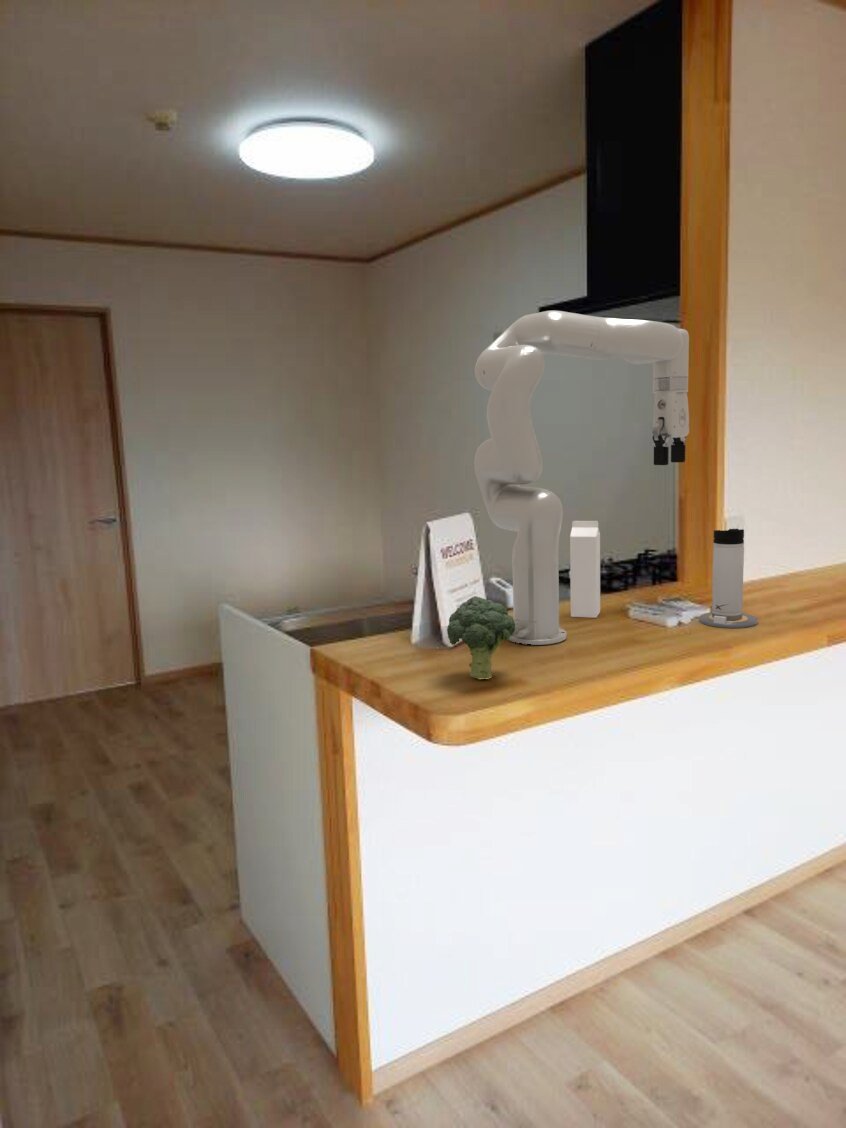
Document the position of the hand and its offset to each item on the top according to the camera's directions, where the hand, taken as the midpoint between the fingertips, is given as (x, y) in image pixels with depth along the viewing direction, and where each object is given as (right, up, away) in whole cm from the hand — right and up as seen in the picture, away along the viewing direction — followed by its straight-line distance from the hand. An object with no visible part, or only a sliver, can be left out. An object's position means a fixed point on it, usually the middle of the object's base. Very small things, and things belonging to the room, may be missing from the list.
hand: (669, 463), depth 190 cm
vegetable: (-45, -44, -39) cm, 74 cm away
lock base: (+11, -35, -6) cm, 38 cm away
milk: (-18, -35, +6) cm, 39 cm away
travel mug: (+11, -35, -6) cm, 37 cm away
